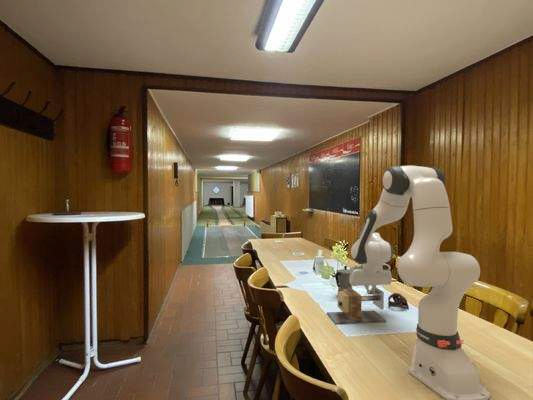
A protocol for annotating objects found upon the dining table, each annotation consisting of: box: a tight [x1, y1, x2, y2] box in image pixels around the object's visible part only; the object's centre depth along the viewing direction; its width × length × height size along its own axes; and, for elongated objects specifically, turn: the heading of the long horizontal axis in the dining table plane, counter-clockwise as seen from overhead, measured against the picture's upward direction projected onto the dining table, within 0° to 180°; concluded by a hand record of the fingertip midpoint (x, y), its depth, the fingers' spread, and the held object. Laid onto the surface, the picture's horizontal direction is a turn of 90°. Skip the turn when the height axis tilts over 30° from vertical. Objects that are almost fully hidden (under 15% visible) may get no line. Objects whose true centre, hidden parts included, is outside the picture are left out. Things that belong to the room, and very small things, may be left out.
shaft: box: [339, 287, 385, 310], centre depth 143 cm, size 20×8×8 cm, turn 97°
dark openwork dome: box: [387, 292, 410, 310], centre depth 158 cm, size 12×10×8 cm
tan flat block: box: [337, 290, 350, 312], centre depth 142 cm, size 3×7×7 cm, turn 7°
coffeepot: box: [334, 265, 353, 299], centre depth 171 cm, size 15×9×18 cm, turn 129°
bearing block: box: [326, 288, 387, 325], centre depth 143 cm, size 24×12×12 cm, turn 97°
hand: (370, 294), depth 147 cm, fingers closed
